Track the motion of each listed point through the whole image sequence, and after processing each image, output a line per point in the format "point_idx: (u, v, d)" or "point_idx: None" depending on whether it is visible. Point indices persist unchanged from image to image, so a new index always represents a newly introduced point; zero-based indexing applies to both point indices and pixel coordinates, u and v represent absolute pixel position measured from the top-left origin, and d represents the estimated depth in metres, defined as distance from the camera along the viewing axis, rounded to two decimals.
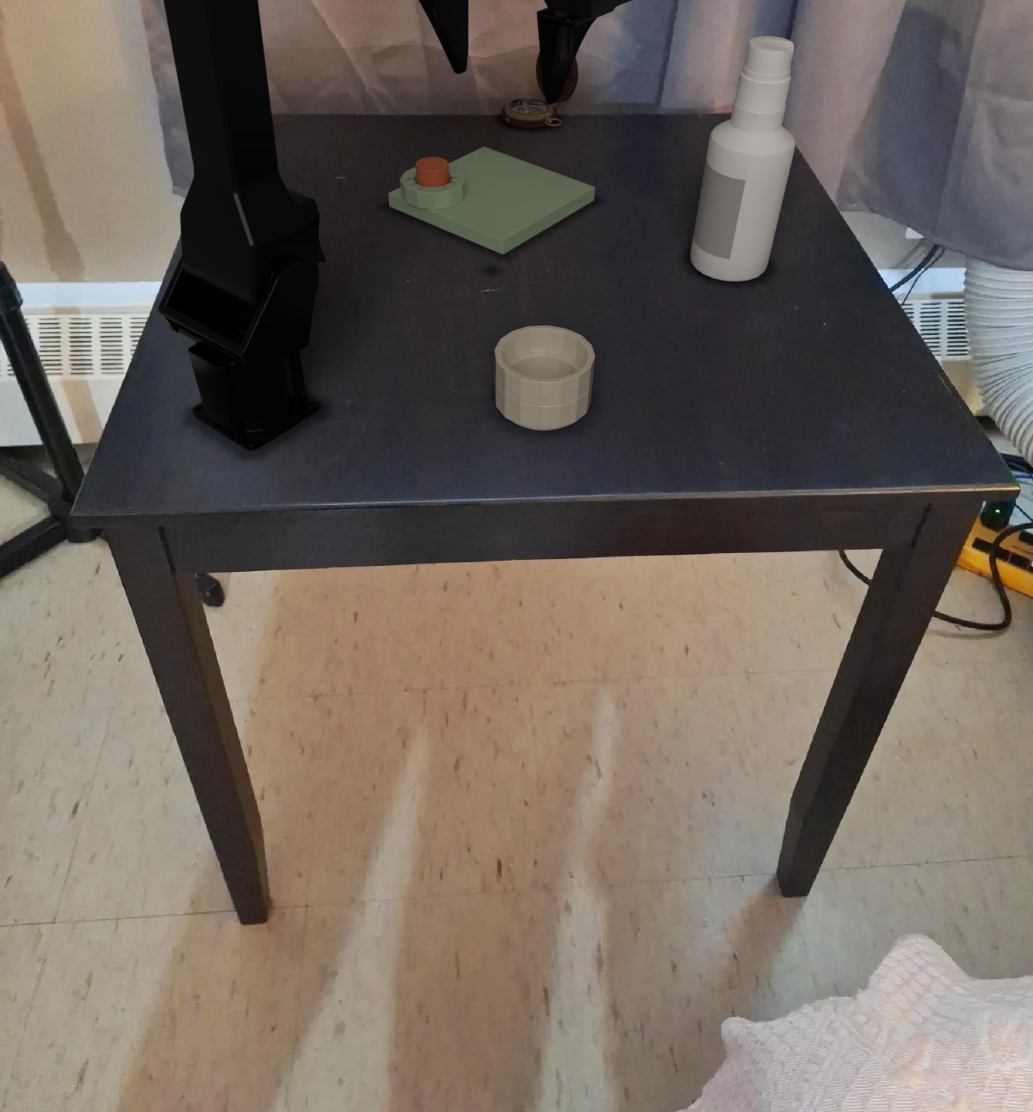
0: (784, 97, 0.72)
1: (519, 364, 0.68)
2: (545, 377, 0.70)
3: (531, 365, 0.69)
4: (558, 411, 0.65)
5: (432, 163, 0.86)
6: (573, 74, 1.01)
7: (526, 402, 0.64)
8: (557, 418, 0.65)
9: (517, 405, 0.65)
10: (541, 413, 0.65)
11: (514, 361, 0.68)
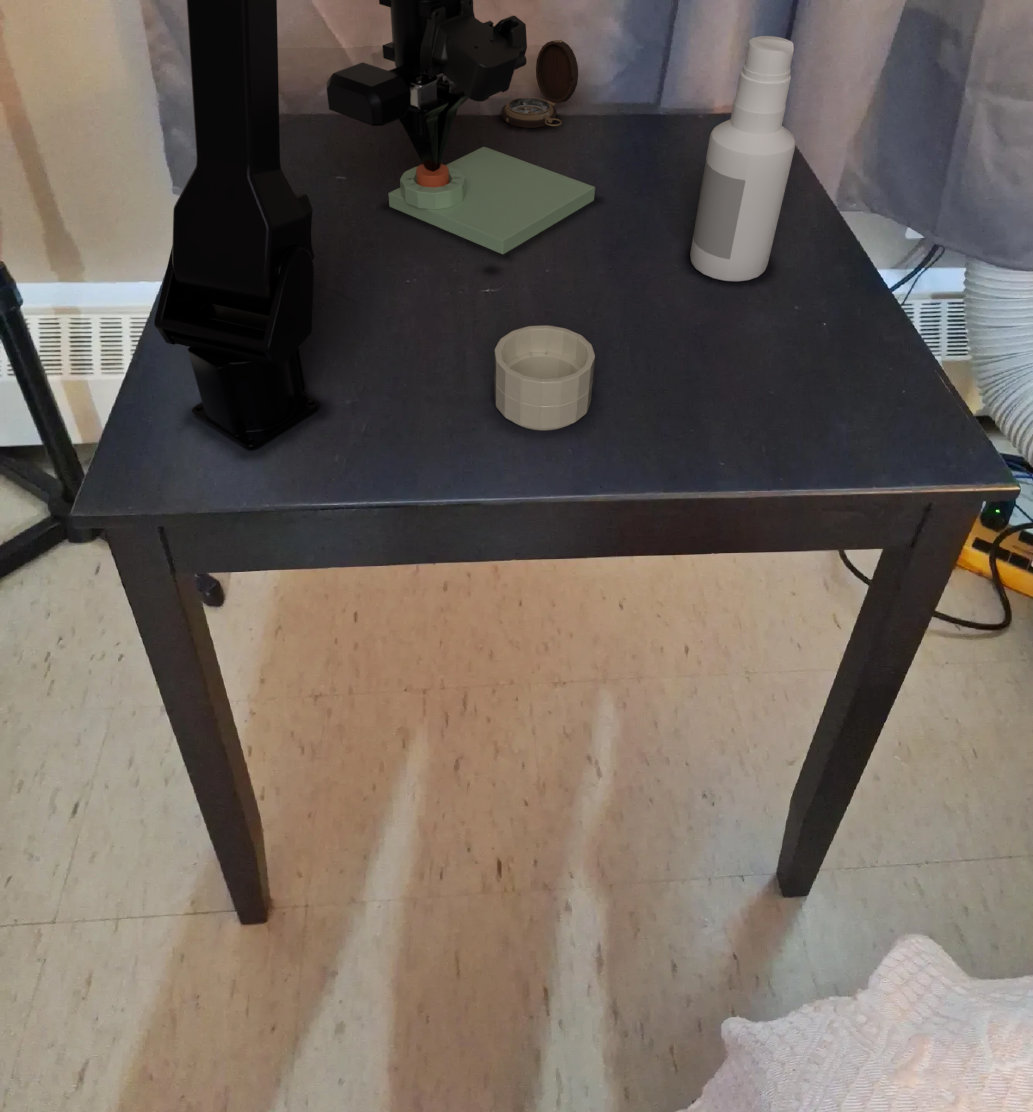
0: (784, 97, 0.72)
1: (519, 364, 0.68)
2: (545, 377, 0.70)
3: (531, 365, 0.69)
4: (558, 411, 0.65)
5: None
6: (573, 74, 1.01)
7: (526, 402, 0.64)
8: (557, 418, 0.65)
9: (517, 405, 0.65)
10: (541, 413, 0.65)
11: (514, 361, 0.68)
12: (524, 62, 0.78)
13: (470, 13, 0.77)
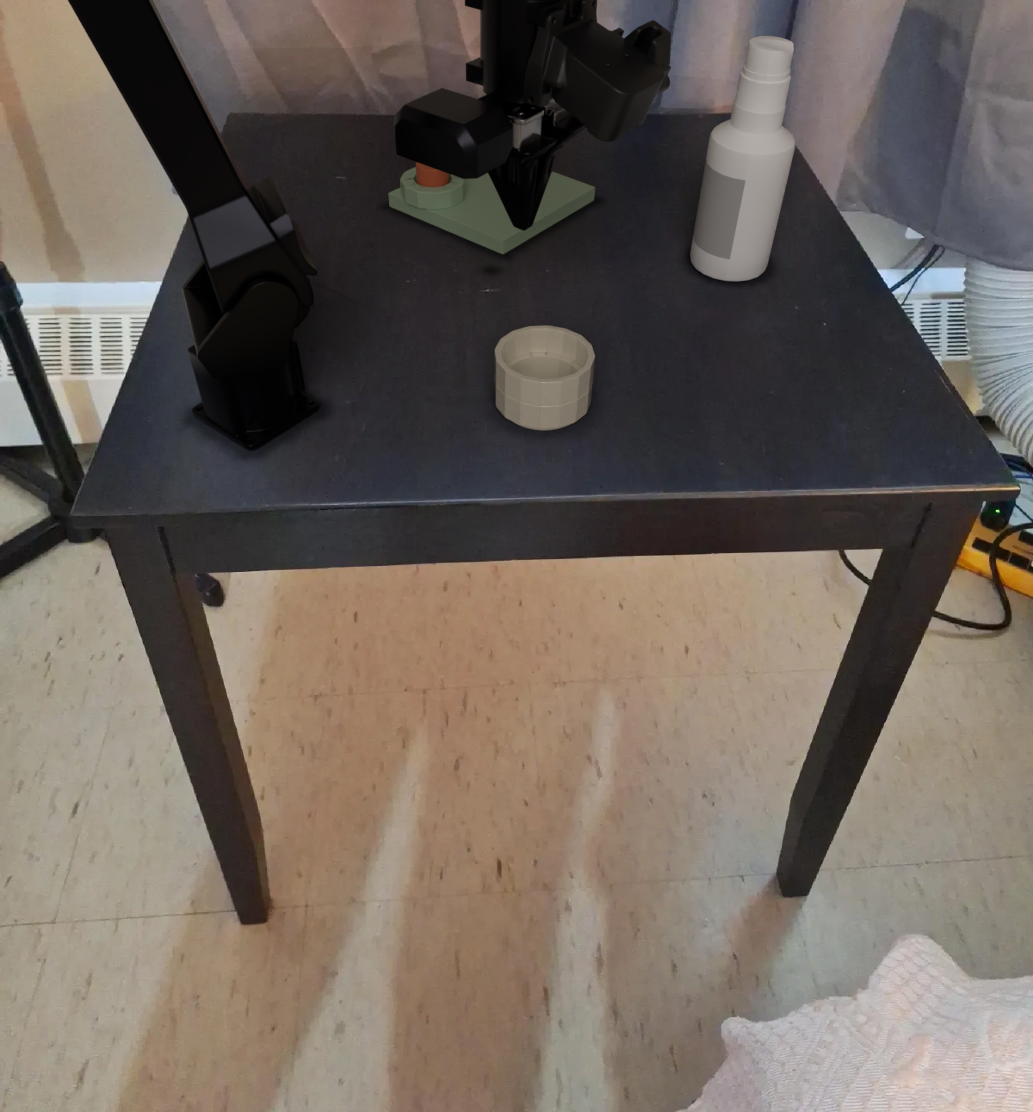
0: (784, 97, 0.72)
1: (519, 364, 0.68)
2: (545, 377, 0.70)
3: (531, 365, 0.69)
4: (558, 411, 0.65)
5: None
6: None
7: (526, 402, 0.64)
8: (557, 418, 0.65)
9: (517, 405, 0.65)
10: (541, 413, 0.65)
11: (514, 361, 0.68)
12: (667, 85, 0.56)
13: (592, 18, 0.55)
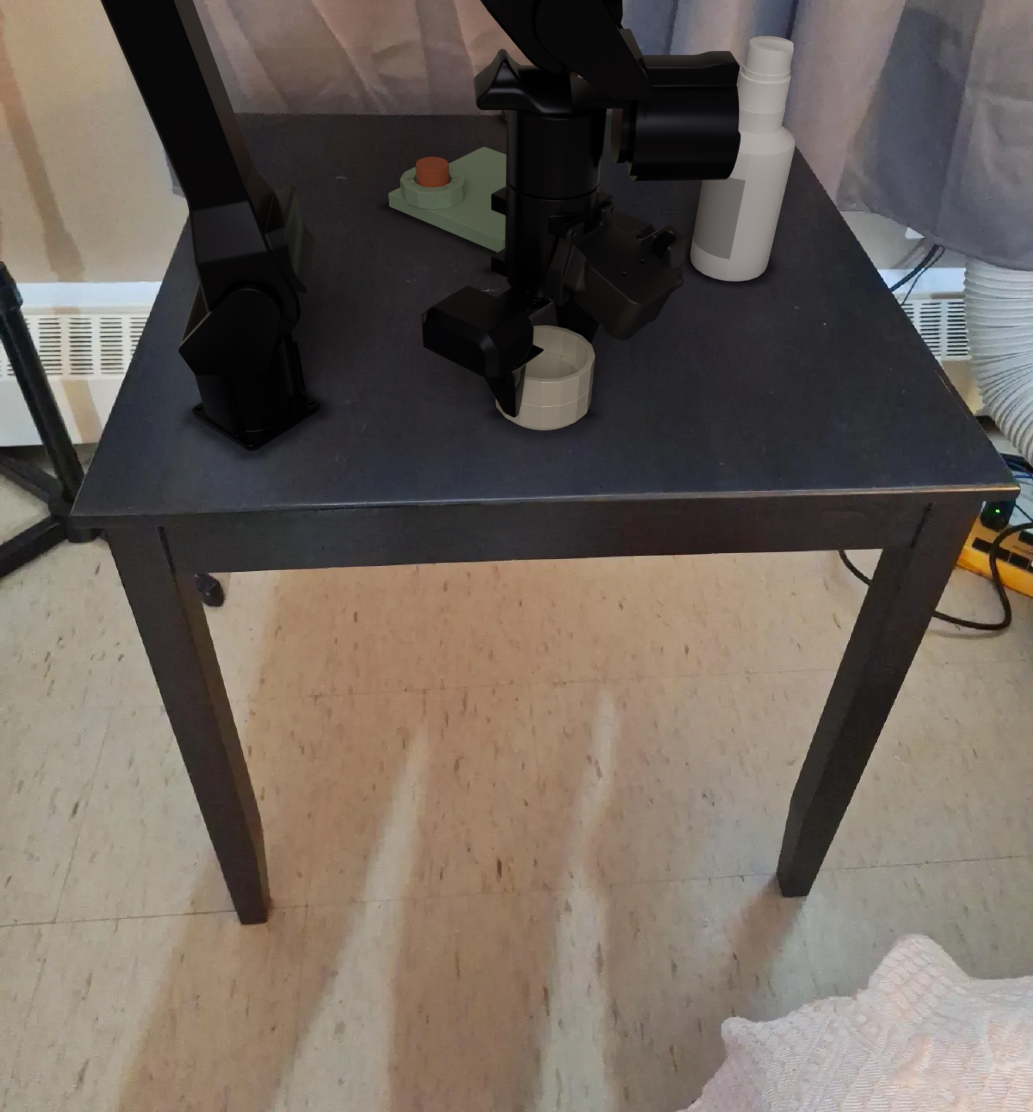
0: (784, 97, 0.72)
1: None
2: (545, 377, 0.70)
3: (531, 365, 0.69)
4: (559, 411, 0.65)
5: (432, 163, 0.86)
6: (573, 74, 1.01)
7: (526, 402, 0.64)
8: (557, 418, 0.65)
9: None
10: (541, 413, 0.65)
11: None
12: (681, 284, 0.59)
13: (611, 221, 0.58)
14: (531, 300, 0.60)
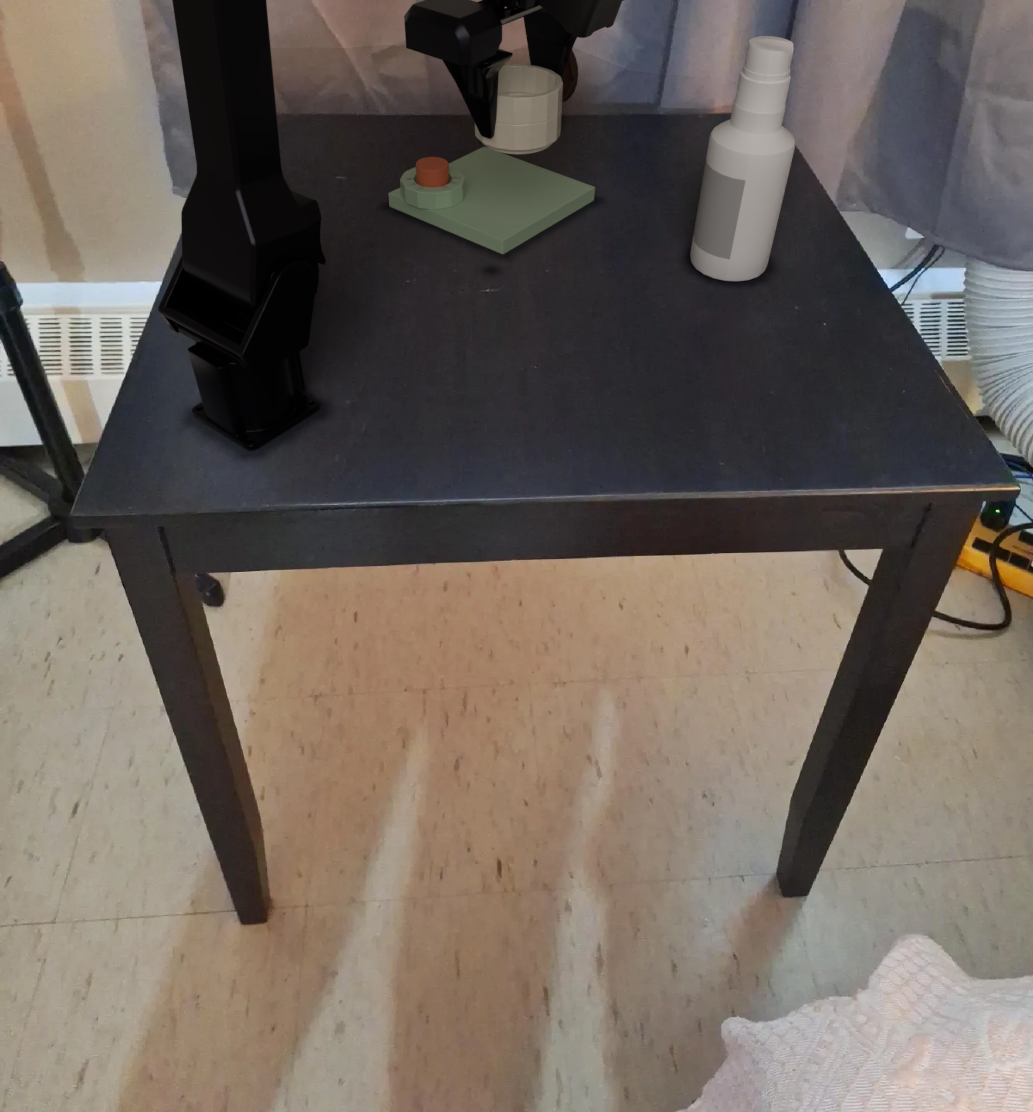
0: (784, 97, 0.72)
1: None
2: None
3: None
4: (530, 130, 0.73)
5: (432, 163, 0.86)
6: (573, 74, 1.01)
7: (501, 121, 0.72)
8: (529, 139, 0.73)
9: None
10: (514, 132, 0.73)
11: None
12: None
13: None
14: (502, 13, 0.68)
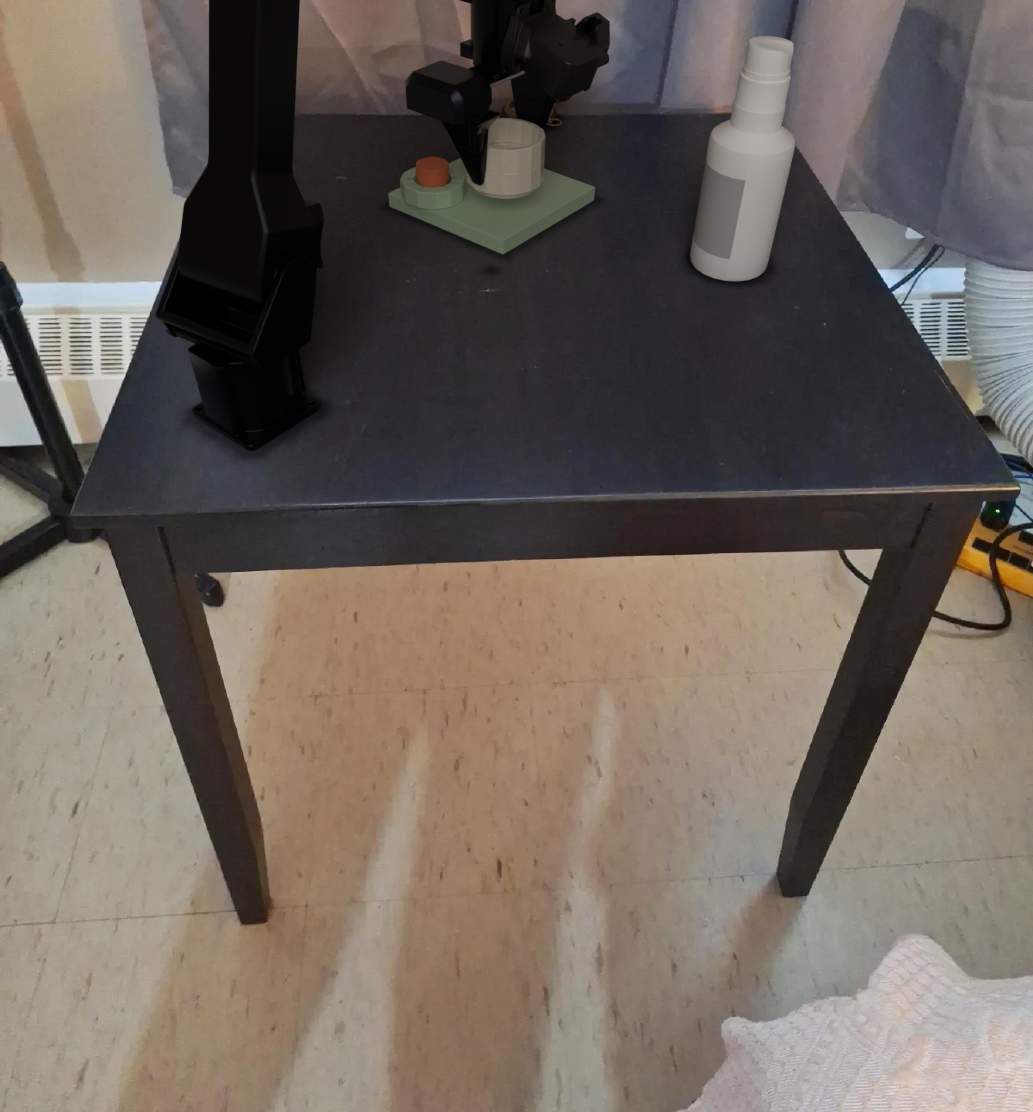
0: (784, 97, 0.72)
1: None
2: None
3: None
4: (516, 178, 0.82)
5: (432, 163, 0.86)
6: None
7: (490, 170, 0.81)
8: (515, 185, 0.82)
9: None
10: (502, 180, 0.82)
11: None
12: (607, 60, 0.75)
13: (552, 10, 0.75)
14: (491, 77, 0.77)
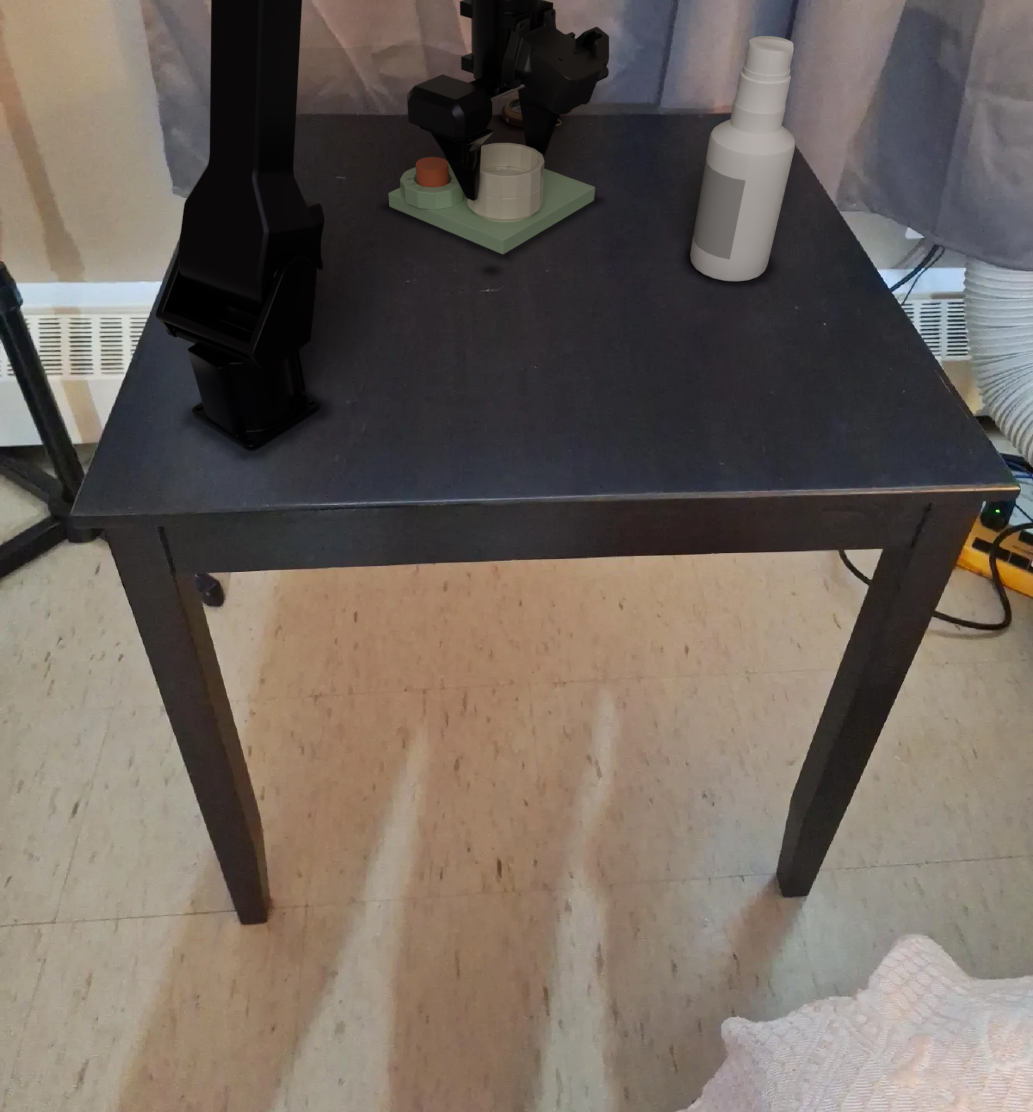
0: (784, 97, 0.72)
1: None
2: None
3: None
4: (515, 203, 0.83)
5: (432, 163, 0.86)
6: None
7: (490, 195, 0.83)
8: (515, 210, 0.84)
9: (483, 198, 0.83)
10: (502, 205, 0.83)
11: None
12: (606, 74, 0.76)
13: (552, 24, 0.76)
14: (492, 90, 0.78)
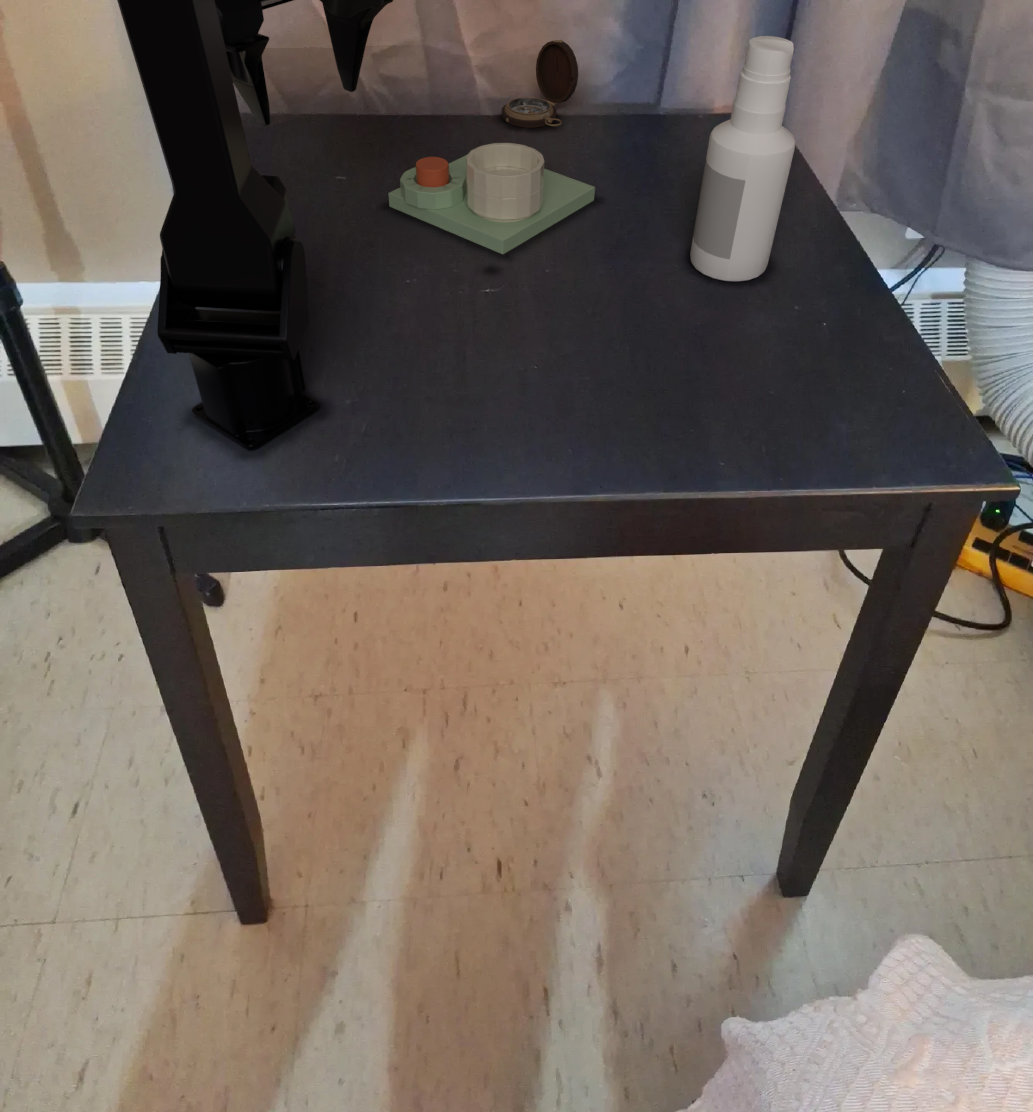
0: (784, 97, 0.72)
1: None
2: None
3: None
4: (515, 203, 0.83)
5: (432, 163, 0.86)
6: (573, 74, 1.01)
7: (490, 195, 0.83)
8: (515, 210, 0.84)
9: (483, 198, 0.83)
10: (502, 205, 0.83)
11: None
12: None
13: None
14: None
